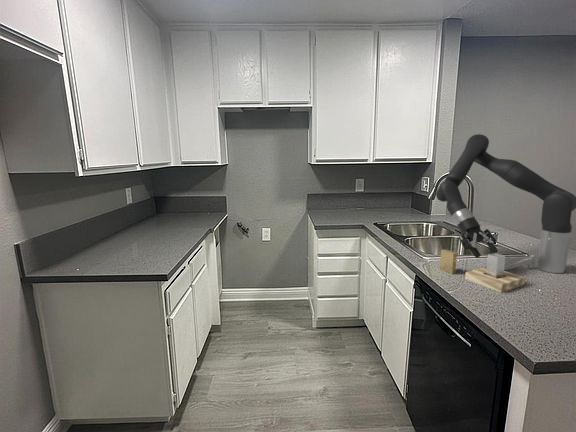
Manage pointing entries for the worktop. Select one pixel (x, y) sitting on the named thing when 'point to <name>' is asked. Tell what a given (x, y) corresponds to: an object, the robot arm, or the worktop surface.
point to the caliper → (523, 263)
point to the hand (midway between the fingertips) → (487, 255)
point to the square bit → (495, 265)
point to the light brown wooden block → (448, 261)
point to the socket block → (495, 280)
